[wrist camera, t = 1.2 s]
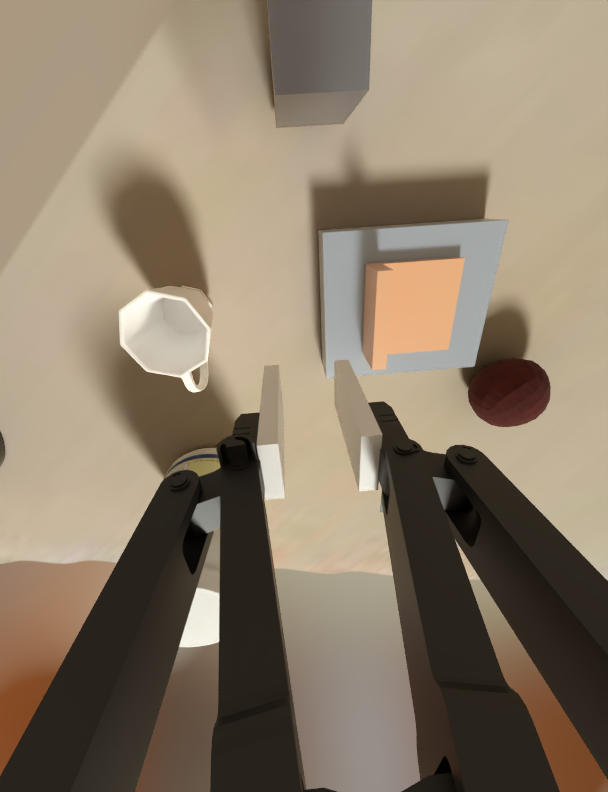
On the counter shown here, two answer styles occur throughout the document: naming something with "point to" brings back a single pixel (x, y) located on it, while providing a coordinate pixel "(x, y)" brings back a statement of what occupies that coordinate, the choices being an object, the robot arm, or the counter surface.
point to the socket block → (358, 246)
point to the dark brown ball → (509, 392)
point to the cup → (169, 332)
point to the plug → (318, 59)
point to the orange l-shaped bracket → (409, 307)
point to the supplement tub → (206, 600)
